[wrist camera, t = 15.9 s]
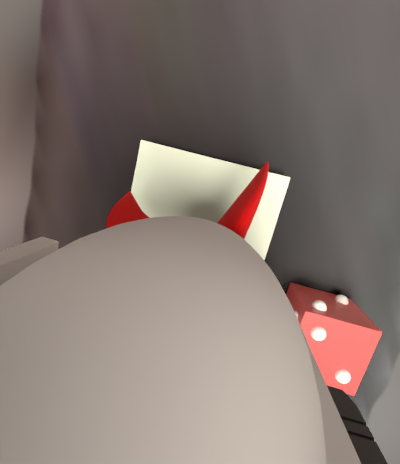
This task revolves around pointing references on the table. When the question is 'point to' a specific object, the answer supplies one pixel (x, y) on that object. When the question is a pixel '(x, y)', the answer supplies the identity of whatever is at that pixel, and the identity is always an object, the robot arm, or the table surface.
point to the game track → (203, 189)
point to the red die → (335, 335)
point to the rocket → (156, 349)
